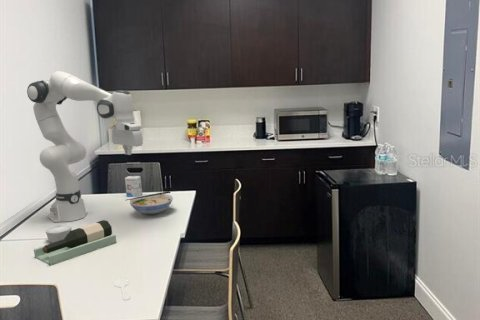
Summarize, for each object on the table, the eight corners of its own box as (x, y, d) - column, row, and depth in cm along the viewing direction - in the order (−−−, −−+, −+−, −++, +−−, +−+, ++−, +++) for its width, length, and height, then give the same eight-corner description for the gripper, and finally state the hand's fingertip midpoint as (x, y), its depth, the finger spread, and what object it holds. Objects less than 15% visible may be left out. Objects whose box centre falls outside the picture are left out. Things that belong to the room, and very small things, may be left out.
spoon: (119, 302, 154) (119, 301, 154) (112, 281, 170) (112, 279, 170) (135, 299, 156) (135, 297, 156) (127, 277, 172) (127, 276, 172)
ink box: (126, 197, 285) (124, 177, 283) (129, 194, 290) (127, 175, 288) (139, 196, 284) (137, 177, 282) (142, 194, 289) (140, 175, 286)
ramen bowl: (135, 222, 235) (133, 207, 233) (123, 211, 255) (122, 197, 253) (182, 213, 246) (181, 198, 244) (168, 203, 266) (166, 189, 264)
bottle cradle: (34, 257, 196) (33, 249, 195) (99, 236, 218) (98, 229, 217) (50, 265, 187) (49, 257, 186) (116, 242, 208) (115, 235, 208)
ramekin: (66, 233, 224) (65, 223, 223) (77, 238, 216) (75, 227, 215) (42, 240, 217) (41, 229, 216) (53, 245, 209) (51, 234, 208)
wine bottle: (113, 225, 210) (50, 247, 187) (110, 241, 213) (48, 264, 191) (102, 216, 214) (39, 236, 191) (100, 231, 218) (37, 252, 195)
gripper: (107, 125, 226) (110, 153, 229) (132, 127, 212) (135, 157, 215) (118, 123, 231) (121, 151, 233) (143, 125, 217) (146, 155, 219)
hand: (128, 154), depth 224 cm, fingers closed
